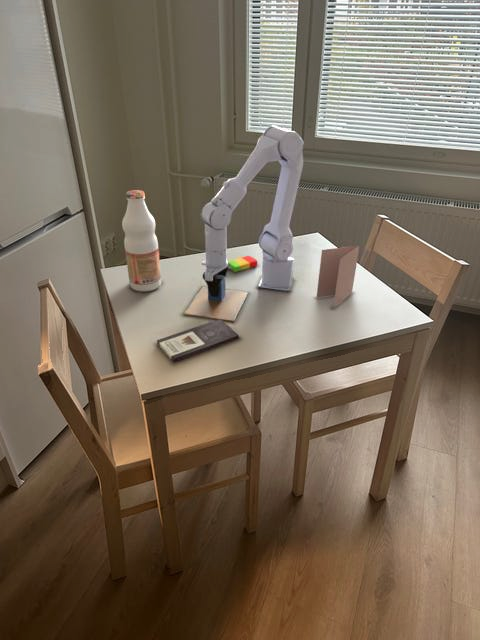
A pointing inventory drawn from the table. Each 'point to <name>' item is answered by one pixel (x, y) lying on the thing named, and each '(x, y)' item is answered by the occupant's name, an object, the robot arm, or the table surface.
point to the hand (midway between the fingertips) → (216, 292)
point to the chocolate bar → (197, 340)
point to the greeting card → (337, 272)
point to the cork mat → (217, 305)
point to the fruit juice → (141, 244)
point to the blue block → (221, 292)
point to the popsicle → (242, 263)
